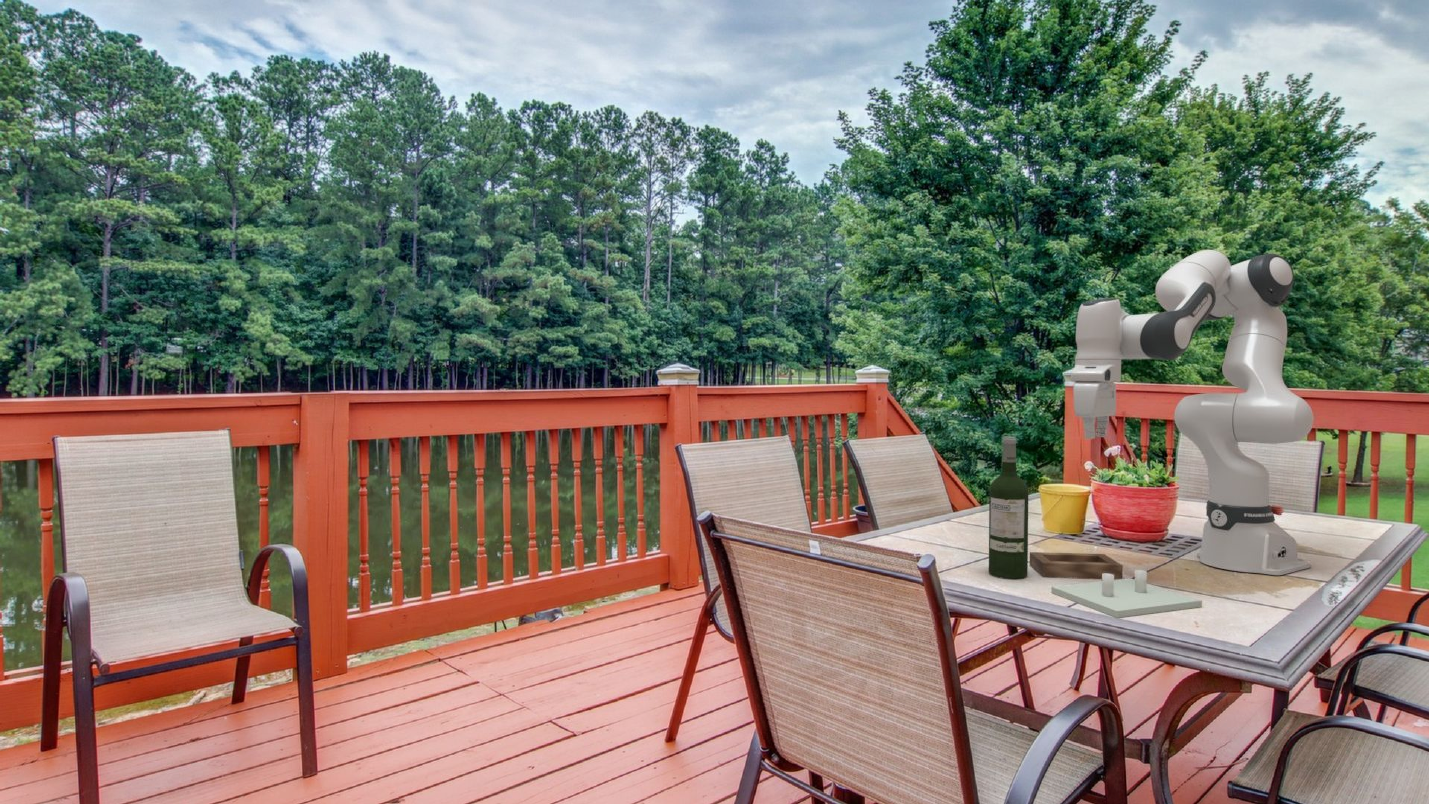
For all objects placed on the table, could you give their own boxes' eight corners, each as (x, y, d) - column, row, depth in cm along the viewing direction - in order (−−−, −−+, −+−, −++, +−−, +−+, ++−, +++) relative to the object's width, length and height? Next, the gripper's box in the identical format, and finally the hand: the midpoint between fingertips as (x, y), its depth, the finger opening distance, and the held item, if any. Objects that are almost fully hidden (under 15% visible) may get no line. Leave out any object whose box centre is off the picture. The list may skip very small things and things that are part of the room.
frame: (1103, 567, 166) (1104, 554, 166) (1122, 579, 157) (1122, 565, 156) (1029, 565, 169) (1029, 552, 168) (1043, 577, 159) (1043, 563, 159)
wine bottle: (990, 578, 158) (991, 438, 157) (987, 568, 166) (988, 435, 165) (1030, 580, 156) (1031, 438, 155) (1025, 570, 164) (1026, 435, 163)
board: (1130, 583, 153) (1130, 558, 153) (1201, 606, 138) (1202, 579, 138) (1051, 592, 147) (1051, 566, 147) (1117, 617, 132) (1117, 589, 132)
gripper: (1093, 374, 169) (1092, 434, 169) (1068, 372, 153) (1066, 439, 153) (1124, 374, 165) (1123, 436, 165) (1101, 372, 149) (1099, 441, 149)
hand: (1095, 437), depth 159 cm, fingers open, 8 cm apart
